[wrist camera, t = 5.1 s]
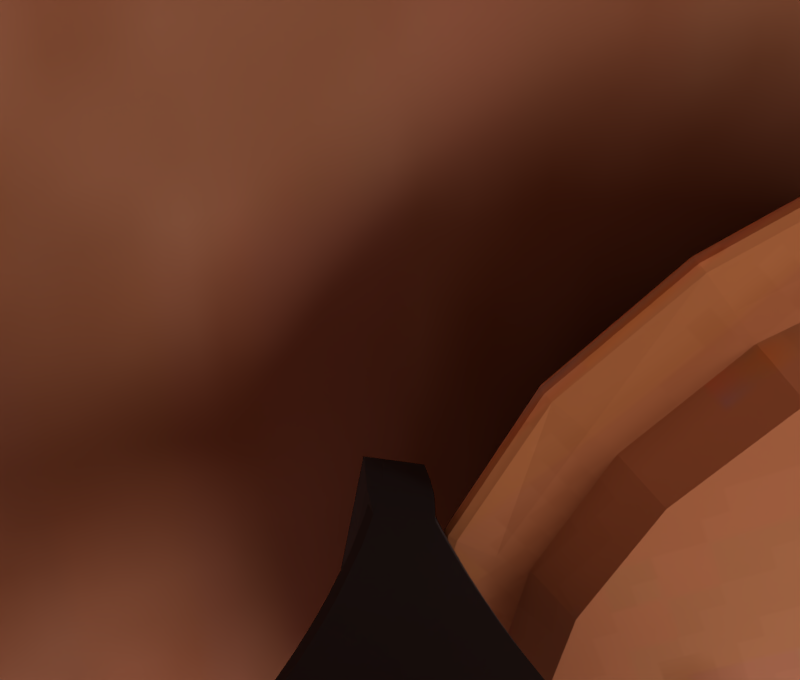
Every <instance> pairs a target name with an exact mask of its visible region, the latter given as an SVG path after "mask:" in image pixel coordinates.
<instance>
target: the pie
mask: <svg viewBox="0 0 800 680" xmlns="http://www.w3.org/2000/svg"><path fill="white" fill-rule="evenodd" d="M444 534H445V536H446V537H447V539H448V541H449V543H450V544H451V546H452V548H453V549H454V551H455V553H456V554H457V556H458V558H459V559H460V561H461V563H462V564H463V566H464V568H465V569H466V571H467V573H468V574H469V576H470V578H471V579H472V581H473V582H474V584H475V585H476V587H477V589H478V590H479V592H480V593H481V595H482V596H483V598H484V599H485V601H486V602H487V604H488V605H489V606H490V608H491V609H492V611H493V612H494V614H495V615H496V617H497V618H498V619H499V621H500V622H501V624H502V625H503V627H504V628H505V629H506V631H507V632H508V633H509V635H510V636H511V638H512V639H513V640H514V642H515V643H516V644H517V646H518V647H519V648H520V649H521V651H522V652H523V653H524V655H525V656H526V657H527V659H528V660H529V661H530V662H531V663H532V665H533V666H534V667H535V668H536V670H537V671H538V672H539V673H540V675H541V676H542V677H543V678H544V679H545V680H800V197H798V198H797V199H795V200H793V201H791V202H789V203H788V204H786V205H784V206H782V207H780V208H779V209H777V210H775V211H773V212H771V213H770V214H768V215H766V216H764V217H762V218H761V219H759V220H757V221H755V222H753V223H752V224H750V225H748V226H746V227H744V228H743V229H741V230H739V231H737V232H735V233H733V234H732V235H730V236H728V237H726V238H724V239H723V240H721V241H719V242H717V243H715V244H714V245H712V246H710V247H708V248H706V249H705V250H703V251H701V252H699V253H697V254H696V255H694V256H692V257H691V258H689V259H688V260H687V261H686V262H685V263H683V264H682V265H681V266H680V267H679V268H678V269H676V270H675V271H674V272H673V273H672V274H671V275H669V276H668V277H667V278H666V279H665V280H663V281H662V282H661V283H660V284H659V285H658V286H656V287H655V288H654V289H653V290H652V291H651V292H649V293H648V294H647V295H646V296H645V297H643V298H642V299H641V300H640V301H639V302H638V303H636V304H635V305H634V306H633V307H632V308H631V309H629V310H628V311H627V312H626V313H625V314H623V315H622V316H621V317H620V318H619V319H618V320H616V321H615V322H614V323H613V324H612V325H611V326H609V327H608V328H607V329H606V330H605V331H603V332H602V333H601V334H600V335H599V336H598V337H596V338H595V339H594V340H593V341H592V342H591V343H589V344H588V345H587V346H586V347H585V348H583V349H582V350H581V351H580V352H579V353H578V354H576V355H575V356H574V357H573V358H572V359H571V360H569V361H568V362H567V363H566V364H565V365H563V366H562V367H561V368H560V369H559V370H558V371H556V372H555V373H554V374H553V375H552V376H551V377H549V378H548V379H547V380H546V381H545V382H543V383H542V384H541V385H540V387H539V388H538V390H537V391H536V393H535V394H534V396H533V397H532V399H531V400H530V402H529V403H528V405H527V406H526V408H525V409H524V411H523V412H522V414H521V415H520V417H519V418H518V420H517V421H516V423H515V424H514V426H513V427H512V429H511V430H510V432H509V433H508V435H507V436H506V438H505V439H504V441H503V442H502V444H501V445H500V447H499V448H498V450H497V451H496V453H495V454H494V456H493V457H492V459H491V460H490V462H489V463H488V465H487V466H486V468H485V469H484V471H483V472H482V474H481V475H480V477H479V478H478V480H477V481H476V483H475V484H474V486H473V487H472V489H471V490H470V492H469V493H468V495H467V496H466V498H465V499H464V501H463V502H462V504H461V505H460V507H459V508H458V510H457V511H456V513H455V514H454V516H453V517H452V519H451V520H450V522H449V523H448V525H447V527H446V529H445V532H444Z"/></svg>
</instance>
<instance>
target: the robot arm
mask: <svg viewBox="0 0 800 680" xmlns="http://www.w3.org/2000/svg"><path fill="white" fill-rule="evenodd" d="M276 680H545V679H544V678H543V677H542V676H541V675H540V673H539V672H538V671H537V670H536V668H535V667H534V666H533V665H532V663H531V662H530V661H529V660H528V659H527V657H526V656H525V655H524V653H523V652H522V651H521V649H520V648H519V647H518V646H517V644H516V643H515V642H514V640H513V639H512V638H511V636H510V635H509V633H508V632H507V631H506V629H505V628H504V627H503V625H502V624H501V622H500V621H499V619H498V618H497V617H496V615H495V614H494V612H493V611H492V609H491V608H490V606H489V605H488V604H487V602H486V601H485V599H484V598H483V596H482V595H481V593H480V592H479V590H478V589H477V587H476V585H475V584H474V582H473V581H472V579H471V578H470V576H469V574H468V573H467V571H466V569H465V568H464V566H463V564H462V563H461V561H460V559H459V558H458V556H457V554H456V553H455V551H454V549H453V548H452V546H451V544H450V543H449V541H448V539H447V537H446V536H445V534H444V532H443V530H442V529H441V527H440V525H439V523H438V521H437V519H436V517H435V502H434V492H433V489H432V485H431V482H430V479H429V476H428V473H427V471H426V468H425V465H422V464H415V463H407V462H400V461H393V460H385V459H378V458H370V457H363V462H362V467H361V472H360V477H359V482H358V487H357V492H356V497H355V502H354V507H353V512H352V517H351V522H350V527H349V532H348V537H347V542H346V547H345V552H344V557H343V562H342V567H341V571H340V573H339V575H338V577H337V579H336V581H335V583H334V585H333V587H332V589H331V591H330V593H329V595H328V597H327V599H326V600H325V602H324V604H323V606H322V608H321V609H320V611H319V613H318V615H317V616H316V618H315V620H314V621H313V623H312V625H311V626H310V628H309V630H308V631H307V633H306V635H305V636H304V638H303V639H302V641H301V642H300V644H299V646H298V647H297V649H296V650H295V652H294V653H293V655H292V656H291V658H290V659H289V661H288V662H287V664H286V665H285V667H284V668H283V670H282V671H281V672H280V674H279V675H278V677H277V678H276Z"/></svg>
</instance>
